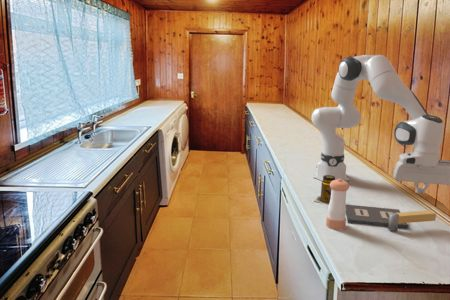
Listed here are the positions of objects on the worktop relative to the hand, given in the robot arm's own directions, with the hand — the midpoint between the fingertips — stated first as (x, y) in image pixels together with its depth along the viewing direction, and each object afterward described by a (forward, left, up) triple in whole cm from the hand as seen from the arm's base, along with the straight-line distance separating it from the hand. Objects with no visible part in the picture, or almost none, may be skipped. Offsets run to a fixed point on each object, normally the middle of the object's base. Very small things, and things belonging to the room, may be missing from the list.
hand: (419, 193), depth 144 cm
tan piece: (+5, -3, -13) cm, 14 cm away
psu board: (-3, -15, -13) cm, 20 cm away
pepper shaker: (+9, -31, -14) cm, 35 cm away
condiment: (-17, -34, -14) cm, 40 cm away
